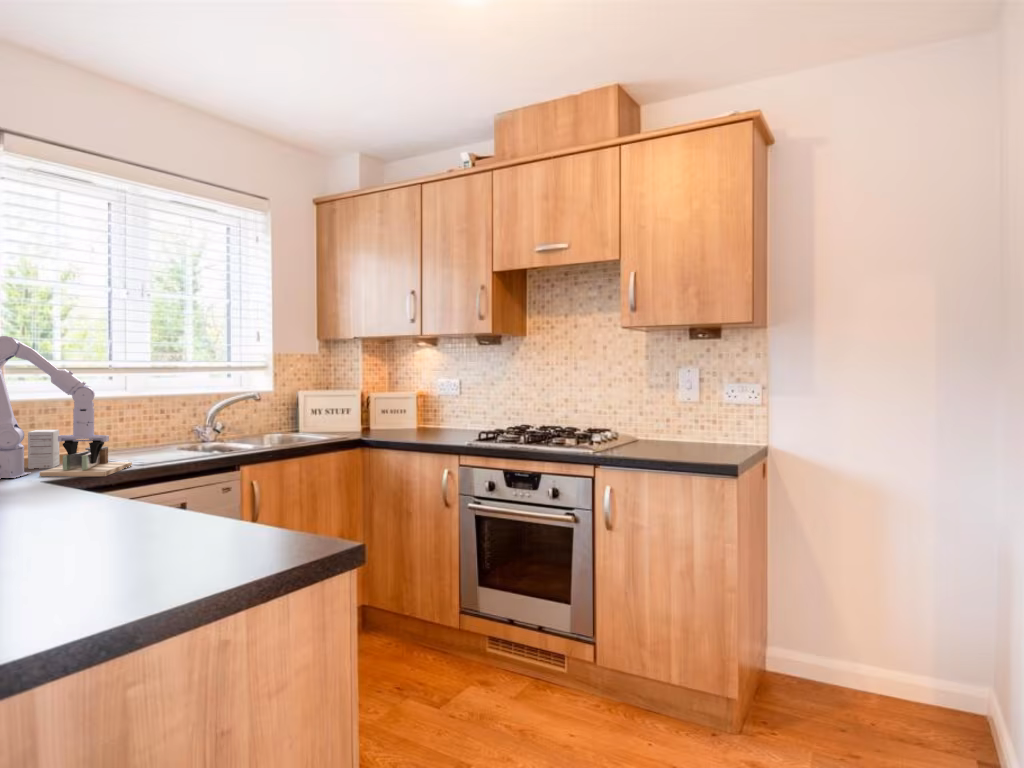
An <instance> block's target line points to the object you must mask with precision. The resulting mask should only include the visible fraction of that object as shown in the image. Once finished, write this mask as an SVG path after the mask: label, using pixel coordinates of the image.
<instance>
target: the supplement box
mask: <svg viewBox="0 0 1024 768" xmlns="http://www.w3.org/2000/svg"><path fill="white" fill-rule="evenodd" d="M58 436H60V429H34V430H32V431H27V469H31V470H33V469H34V468H39V469H52V468H55V467H59V466H60V442H58Z"/></svg>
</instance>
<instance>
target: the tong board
mask: <svg viewBox="0 0 1024 768" xmlns="http://www.w3.org/2000/svg"><path fill="white" fill-rule="evenodd" d="M89 450H90V446H89V447H85V451H89ZM131 465H132V466H133V462H132V461H127V462H126V461H117V462H116V461H111V462H109V446H102V448H101V450H100V463H99V464H97V465H95V466H93V467H91V468H89V469H87V470H82V466H81V467H77V468H72V469H69V470H63V464H62V465H58V466H56V467H54V468H47V469H45V470H42V471H39V477H40V476H68V477H107V476H109V475H113V474H115V473H119V472H120V470H121V471H123V470H122V469H124V468H126V467H129V466H131ZM129 468H130V467H129ZM126 469H127V468H126ZM124 470H125V469H124Z"/></svg>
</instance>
